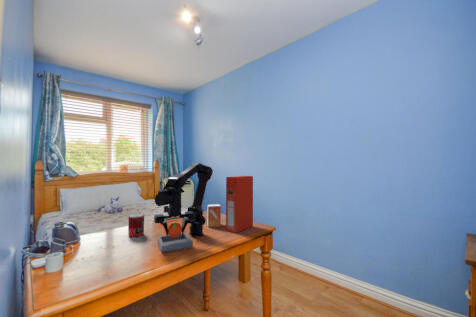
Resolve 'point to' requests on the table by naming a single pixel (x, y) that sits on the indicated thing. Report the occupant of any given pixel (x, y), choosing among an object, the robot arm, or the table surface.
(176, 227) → the clementine
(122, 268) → the table surface
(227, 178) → the file binder
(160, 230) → the table surface
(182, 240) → the tray
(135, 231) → the canned food
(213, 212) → the small box
